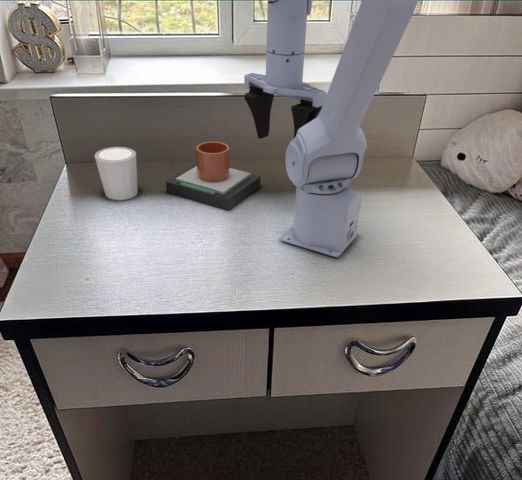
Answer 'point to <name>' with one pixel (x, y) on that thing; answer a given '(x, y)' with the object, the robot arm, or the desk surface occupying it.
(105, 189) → the shot glass
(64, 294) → the desk surface
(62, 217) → the desk surface
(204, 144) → the cup
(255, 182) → the scale
